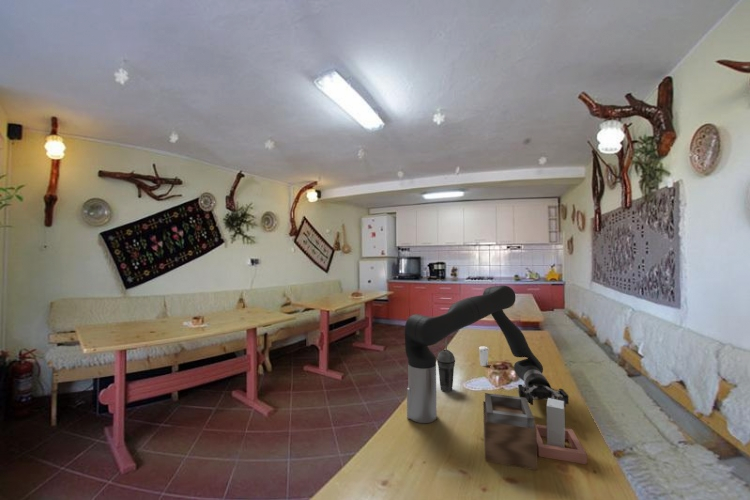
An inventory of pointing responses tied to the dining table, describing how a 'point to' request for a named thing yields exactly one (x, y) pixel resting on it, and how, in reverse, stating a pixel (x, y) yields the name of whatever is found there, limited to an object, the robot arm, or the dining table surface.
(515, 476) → the dining table surface
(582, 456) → the lower collar
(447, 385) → the beverage cup
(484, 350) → the milkshake
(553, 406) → the skincare box
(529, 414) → the walnut pedestal
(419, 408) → the robot arm
